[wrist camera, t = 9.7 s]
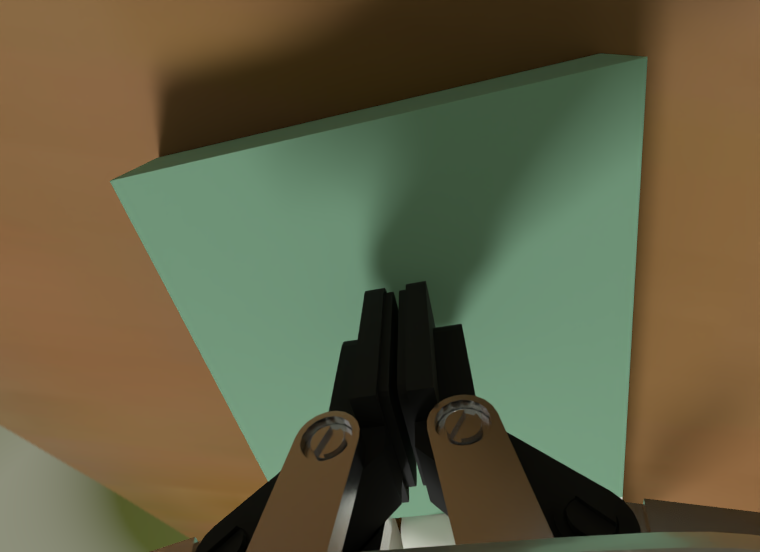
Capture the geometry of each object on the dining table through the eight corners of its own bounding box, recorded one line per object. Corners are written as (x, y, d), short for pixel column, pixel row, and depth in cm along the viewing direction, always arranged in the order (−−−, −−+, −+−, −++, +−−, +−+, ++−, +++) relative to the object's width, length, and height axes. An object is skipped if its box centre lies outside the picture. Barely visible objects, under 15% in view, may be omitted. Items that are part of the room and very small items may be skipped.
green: (600, 53, 11) (1401, 113, 2) (594, 561, 22) (727, 923, 13) (158, 157, 13) (-385, 421, 4) (352, 578, 24) (321, 906, 15)
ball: (483, 465, 18) (506, 584, 15) (486, 483, 21) (505, 585, 19) (388, 475, 18) (396, 592, 16) (405, 492, 22) (414, 592, 19)
